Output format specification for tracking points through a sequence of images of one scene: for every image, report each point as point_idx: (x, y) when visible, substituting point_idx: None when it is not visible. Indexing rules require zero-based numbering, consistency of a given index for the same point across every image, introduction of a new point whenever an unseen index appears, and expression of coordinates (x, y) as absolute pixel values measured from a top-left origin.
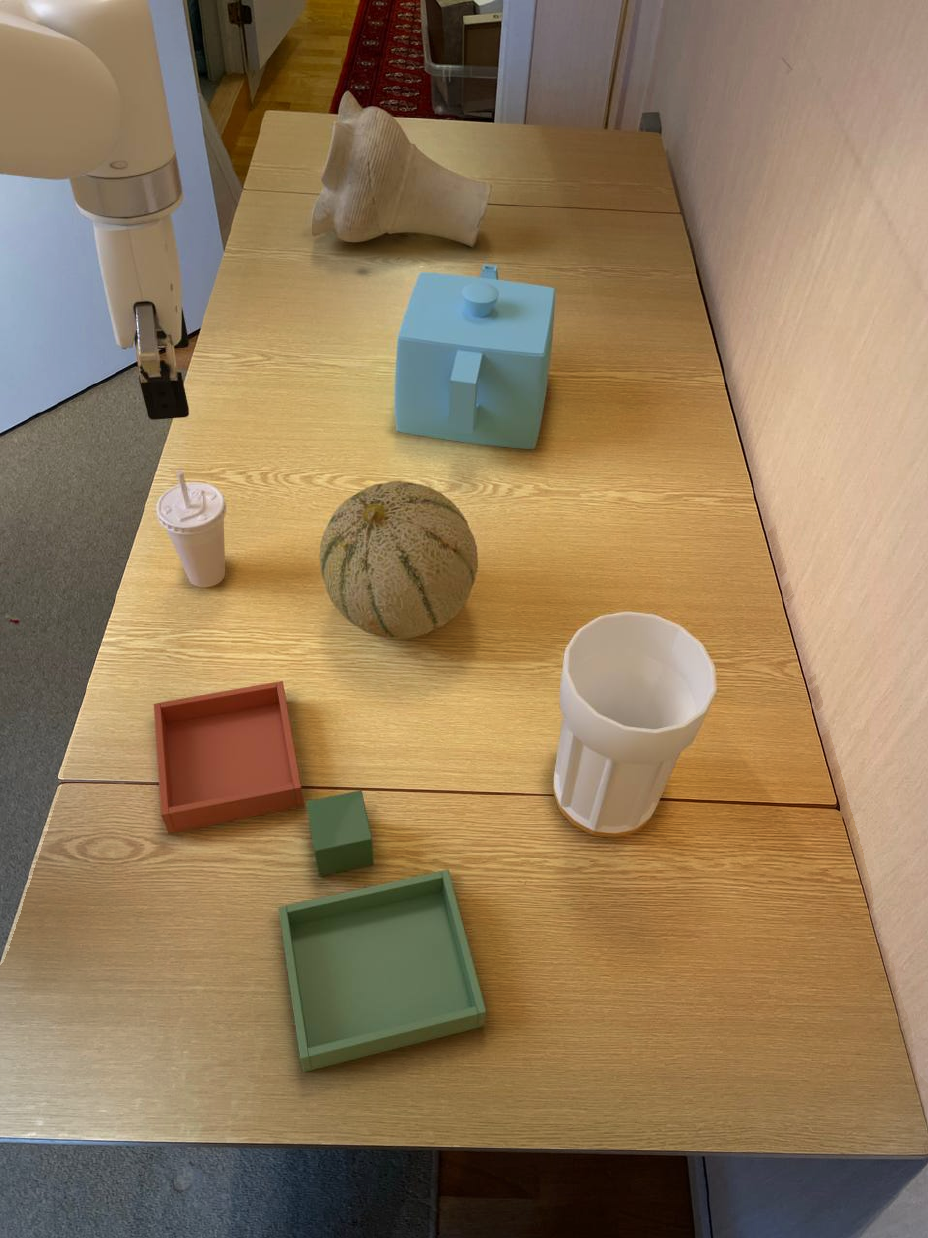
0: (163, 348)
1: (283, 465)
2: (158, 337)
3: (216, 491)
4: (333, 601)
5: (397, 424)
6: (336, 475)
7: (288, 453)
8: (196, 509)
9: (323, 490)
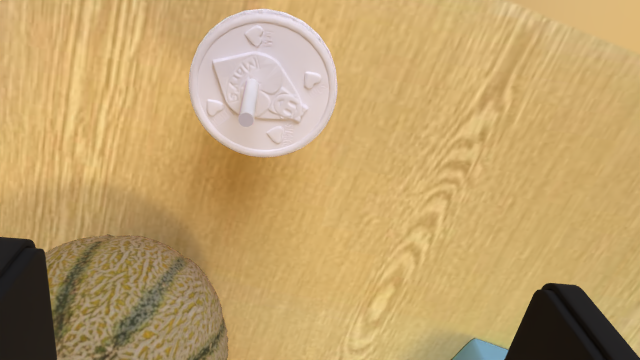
0: (522, 321)
1: (472, 195)
2: (554, 358)
3: (289, 146)
4: (55, 251)
5: (475, 348)
6: (420, 257)
7: (495, 206)
8: (238, 101)
9: (396, 236)
